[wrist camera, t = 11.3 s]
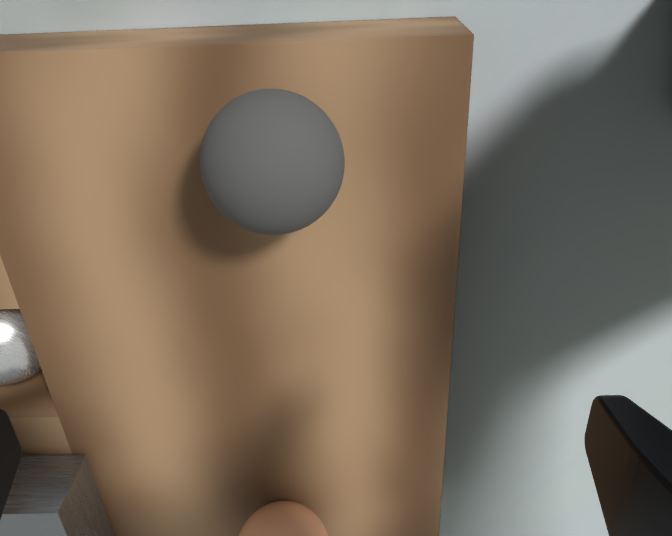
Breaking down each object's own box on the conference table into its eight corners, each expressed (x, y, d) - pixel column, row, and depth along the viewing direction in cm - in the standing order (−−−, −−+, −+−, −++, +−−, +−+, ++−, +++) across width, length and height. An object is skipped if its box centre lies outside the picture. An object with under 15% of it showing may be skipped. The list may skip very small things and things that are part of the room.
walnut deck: (455, 16, 18) (474, 34, 15) (429, 489, 28) (437, 549, 25) (-284, 46, 18) (-388, 68, 16) (-48, 497, 28) (-87, 556, 26)
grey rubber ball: (342, 70, 15) (341, 109, 12) (346, 198, 17) (347, 258, 14) (205, 76, 16) (171, 115, 13) (223, 201, 17) (197, 262, 14)
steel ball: (25, 374, 19) (73, 285, 21) (-91, 340, 19) (-30, 252, 21) (33, 412, 22) (75, 329, 24) (-67, 382, 22) (-15, 301, 24)
